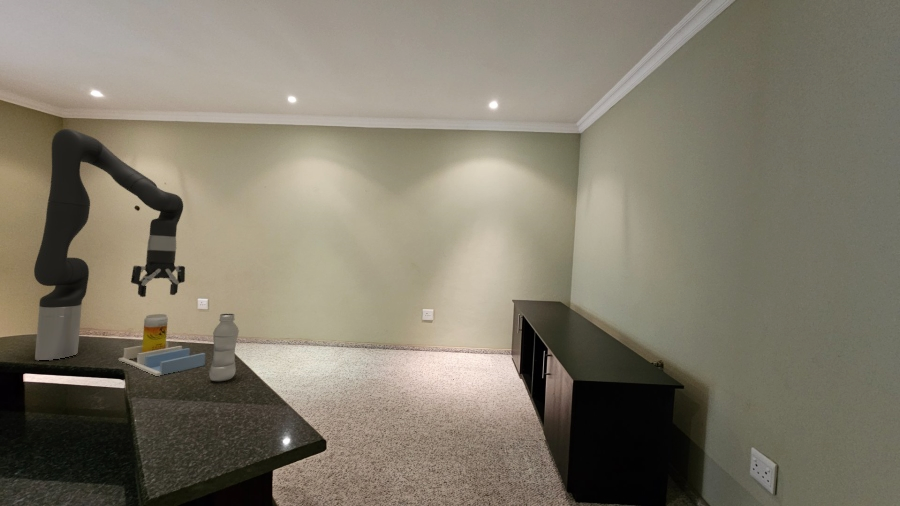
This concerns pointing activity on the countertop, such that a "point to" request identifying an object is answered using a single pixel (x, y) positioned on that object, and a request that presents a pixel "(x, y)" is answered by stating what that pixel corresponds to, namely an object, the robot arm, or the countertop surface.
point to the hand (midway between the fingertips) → (158, 295)
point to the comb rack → (163, 359)
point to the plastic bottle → (224, 349)
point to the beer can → (154, 332)
